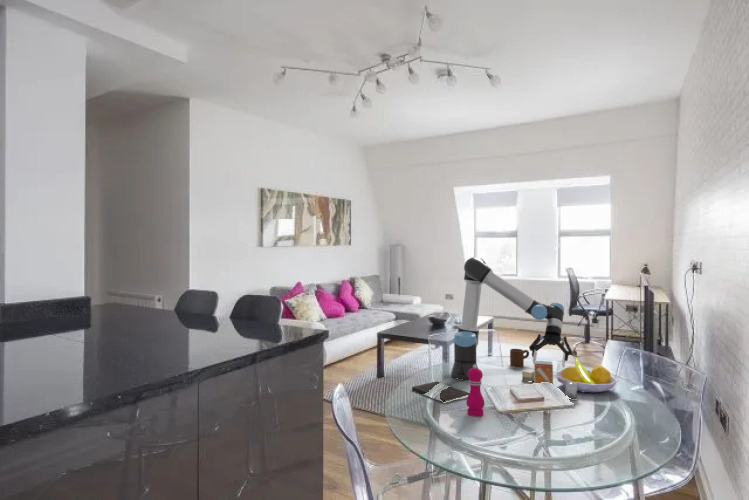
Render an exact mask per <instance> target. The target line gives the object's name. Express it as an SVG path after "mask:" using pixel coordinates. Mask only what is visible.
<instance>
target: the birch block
mask: <svg viewBox="0 0 749 500" xmlns="http://www.w3.org/2000/svg"><path fill="white" fill-rule="evenodd" d="M521 375H522V376H521V377H522V381H524V380H526V381H525V382H528V381H534V370H532V369H530V368H528V369H523V370H522V372H521Z"/></svg>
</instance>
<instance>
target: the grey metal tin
mask: <svg viewBox="0 0 749 500" xmlns="http://www.w3.org/2000/svg"><path fill="white" fill-rule="evenodd" d="M565 394H566V395H567V396H568V397H569V398H571V399H577V400H578V390H577V383H575V382H571V381H566V382H565V385H564V395H565Z"/></svg>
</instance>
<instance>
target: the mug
mask: <svg viewBox="0 0 749 500" xmlns="http://www.w3.org/2000/svg"><path fill="white" fill-rule="evenodd" d="M509 351H510V352H509V364H510V366H511V367H513V366H514V368H523V367H524V363H525V361H524V360H526V359H528V358H529V356H530V350H527V349H521V348H520V349H519V348H511V349H510V350H509ZM524 354H525V355H524Z"/></svg>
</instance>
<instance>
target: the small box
mask: <svg viewBox="0 0 749 500" xmlns="http://www.w3.org/2000/svg"><path fill="white" fill-rule="evenodd" d="M533 367H534V368H533V369H534V382H533V383H541V382H549V383H552V384H553V385H554V370H553V369H554V367H553V362H552V361H546V360H545V361H544V360H536V361H534V363H533Z"/></svg>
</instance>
